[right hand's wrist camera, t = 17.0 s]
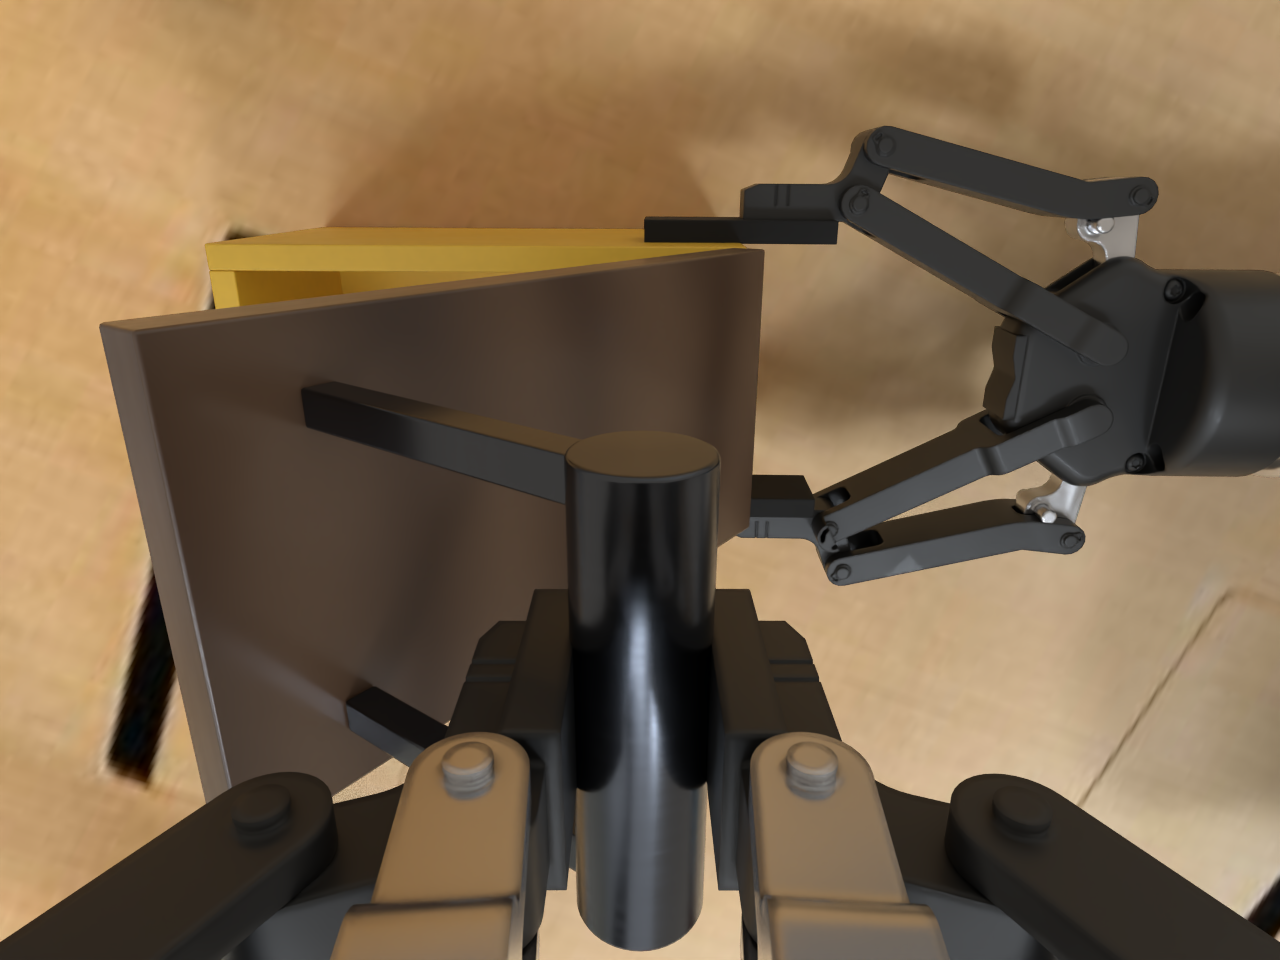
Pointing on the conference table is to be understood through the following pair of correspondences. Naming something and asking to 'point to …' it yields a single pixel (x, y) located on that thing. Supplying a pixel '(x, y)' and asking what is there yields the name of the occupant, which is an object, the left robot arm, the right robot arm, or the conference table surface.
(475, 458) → the lid
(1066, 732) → the conference table surface
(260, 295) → the chest
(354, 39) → the conference table surface
